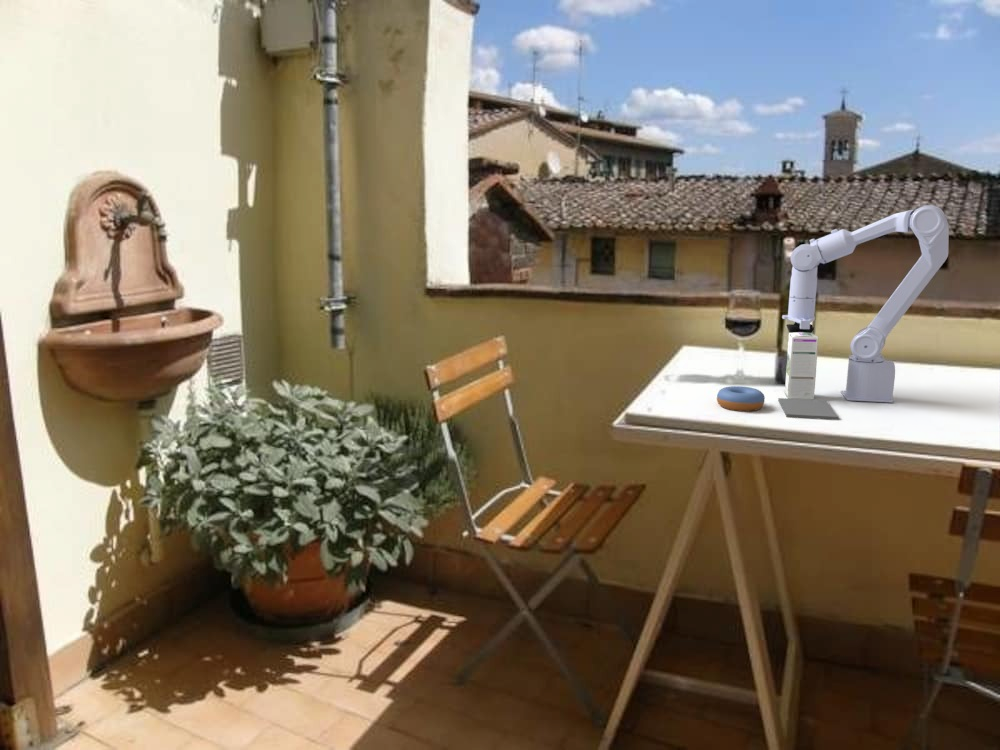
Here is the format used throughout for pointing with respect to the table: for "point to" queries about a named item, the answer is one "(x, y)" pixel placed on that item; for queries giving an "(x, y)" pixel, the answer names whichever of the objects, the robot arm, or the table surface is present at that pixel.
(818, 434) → the table surface
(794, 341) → the syrup box
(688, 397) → the table surface
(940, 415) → the table surface
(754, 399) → the doughnut
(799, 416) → the mat
